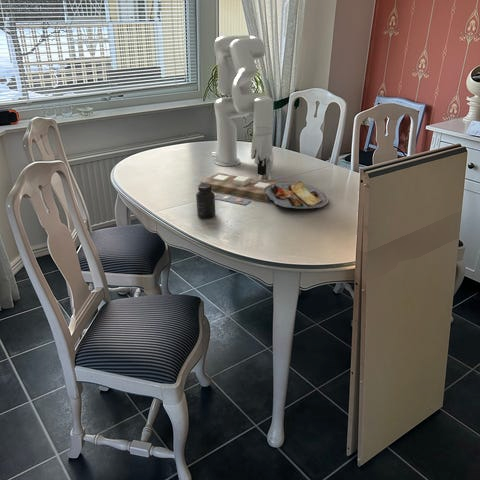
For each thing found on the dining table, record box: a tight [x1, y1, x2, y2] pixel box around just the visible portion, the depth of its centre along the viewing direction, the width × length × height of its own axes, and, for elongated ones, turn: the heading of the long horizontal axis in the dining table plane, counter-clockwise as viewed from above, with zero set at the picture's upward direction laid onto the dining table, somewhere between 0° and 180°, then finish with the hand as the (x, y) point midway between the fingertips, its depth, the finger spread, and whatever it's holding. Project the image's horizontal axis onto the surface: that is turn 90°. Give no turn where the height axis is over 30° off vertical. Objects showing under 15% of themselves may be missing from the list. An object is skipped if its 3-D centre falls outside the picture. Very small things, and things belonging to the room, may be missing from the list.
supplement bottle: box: [195, 183, 216, 220], centre depth 172 cm, size 7×7×12 cm
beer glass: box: [258, 145, 275, 182], centre depth 208 cm, size 7×7×15 cm
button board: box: [200, 172, 277, 203], centre depth 198 cm, size 32×14×3 cm, turn 60°
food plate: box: [265, 180, 329, 210], centre depth 186 cm, size 25×23×4 cm
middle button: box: [233, 175, 251, 186], centre depth 198 cm, size 5×5×3 cm
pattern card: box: [214, 192, 252, 206], centre depth 190 cm, size 20×5×1 cm, turn 60°
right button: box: [254, 182, 271, 190], centre depth 194 cm, size 5×5×3 cm
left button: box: [213, 175, 229, 183], centre depth 202 cm, size 5×5×3 cm
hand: (261, 174), depth 191 cm, fingers closed
